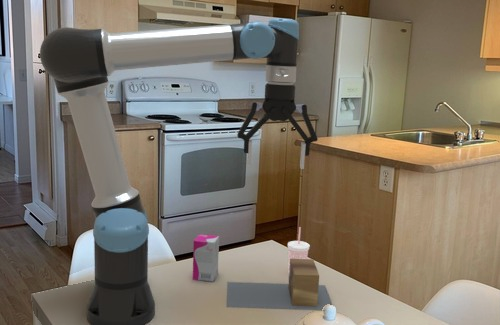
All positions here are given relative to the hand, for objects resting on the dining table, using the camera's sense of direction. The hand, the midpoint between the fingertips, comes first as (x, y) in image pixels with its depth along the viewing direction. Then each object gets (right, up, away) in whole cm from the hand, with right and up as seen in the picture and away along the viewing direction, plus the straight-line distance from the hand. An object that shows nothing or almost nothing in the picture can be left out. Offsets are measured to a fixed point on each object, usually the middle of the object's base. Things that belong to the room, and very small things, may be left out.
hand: (275, 167), depth 134 cm
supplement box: (-19, -30, +7) cm, 36 cm away
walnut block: (+7, -33, -2) cm, 33 cm away
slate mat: (+1, -33, -2) cm, 33 cm away
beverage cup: (+6, -30, +12) cm, 33 cm away
